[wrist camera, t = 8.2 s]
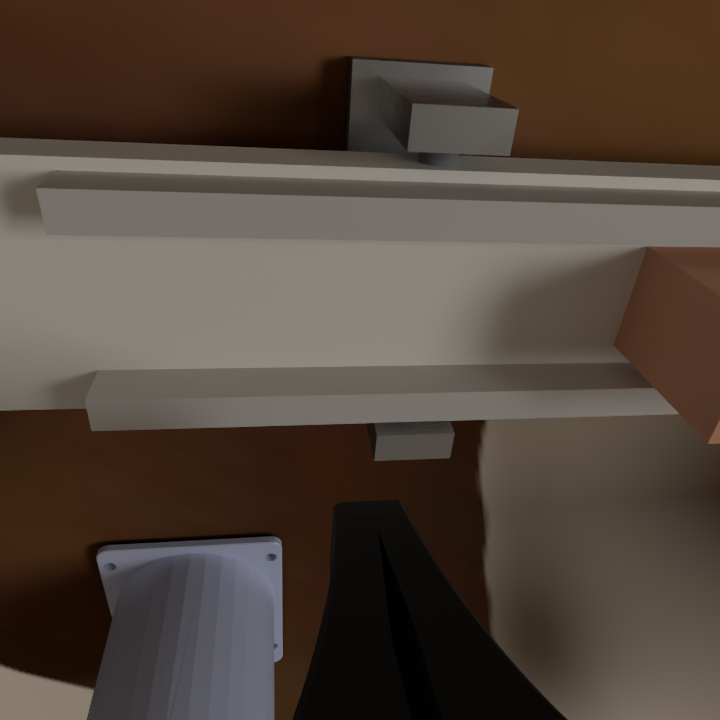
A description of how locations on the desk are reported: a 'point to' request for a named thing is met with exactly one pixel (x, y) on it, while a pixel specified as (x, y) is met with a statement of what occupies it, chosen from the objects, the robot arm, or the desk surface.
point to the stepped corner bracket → (413, 135)
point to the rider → (678, 331)
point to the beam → (327, 282)
